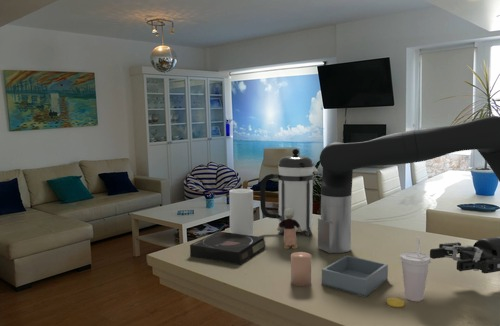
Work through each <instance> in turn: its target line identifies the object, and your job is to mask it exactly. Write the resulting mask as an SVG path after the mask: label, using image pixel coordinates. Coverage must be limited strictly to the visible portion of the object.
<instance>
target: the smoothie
mask: <svg viewBox="0 0 500 326" xmlns="http://www.w3.org/2000/svg"><path fill="white" fill-rule="evenodd" d="M416 239H417V240H416V251H406V252H402V253H401V254H400V255H399V257H400V258H399V259H400V261H401V266H402V267H401V268H402V275H403V276H402V279H403V286H404V297H405V299H406V300H408V301H411V302H422V301H423V298H424V294H425V289H426V285H427V284H426V282H427V278H428V277H427V276H428V273H429V272H428V271H429V266H430V264H431V263H432V261H431V260H432V258H430V255H427V254H426V253H423V252H420V248H421V247H420V243H421V237H419V236H417V237H416Z"/></svg>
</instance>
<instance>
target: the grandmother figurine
mask: <svg viewBox="0 0 500 326" xmlns="http://www.w3.org/2000/svg"><path fill="white" fill-rule="evenodd" d="M284 215H285V216H286V218H287V219H285V220H283V221H281V222H280V223H279V222H278V226H277V228H276V230H277V232H279V231H280V229H281V227H285V228H284V230H283V231H284V236H283V243H284V245H283V248H284V249H290V248H291V249H297V248H299V245H298V244H297V232H296V230H295V226H296V227H297V228H298V230H299V233H302V232H303V231H302V230H301V227H300V225H299V223H298V222H297V221H296V220H294V219H292V218H293V216H294V209H293V208H287V209H286V210H285V212H284Z"/></svg>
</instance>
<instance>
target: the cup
mask: <svg viewBox="0 0 500 326" xmlns="http://www.w3.org/2000/svg"><path fill="white" fill-rule="evenodd" d="M228 195H229V196H228V199H229V204H228V205H229V233H235V234H242V235H250V236H254V190H253V189H250V188H233V189H230V190H229V193H228Z"/></svg>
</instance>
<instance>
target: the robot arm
mask: <svg viewBox="0 0 500 326" xmlns="http://www.w3.org/2000/svg"><path fill="white" fill-rule="evenodd" d="M470 150H471V151H472V150H477V152H478V153H479V154H480V156H482V158H483V159H484V161H485V162H486V163H487V164H488V166H489V167H490V169H491V171H492V172H493V174H494V175H495V177H496V178H497V180H498V181H499V183H500V116H497V115H496V116H495V115H494V116H493V115H492V116H487V117H483V118H479V119H474V120H472V121H470V120H469V121H467V122H464V123H458V124H454V125H448V126H447V125H446V126H435V127H429V128H420V129H414V130H412V129H411V130H407V131H406V130H405V131H399V132H395V133H391V134H386V135H382V136H380V137H376V138H374V139H370V140H366V141H365V140H364V141H359V142H358V141H357V142H346V143H344V142H342V141H341V142H340V141H334V142H331V143H329V144H327V145H326V146H324V147H323V149H322V150H321V152H320V153H319V154H320V155H319V163H320V166H321V167H322V178H321V185H320V217H319V218H318V219H317V248H318V249H320V250H321V251H324V252H325V253H326V252H327V253H328V254H334V253H335V254H343V253H347V252H350V251H351V249H352V247H351V245H352V242H351V240H352V197H353V196H352V194H353V193H352V191H353V190H352V189H353V175H354V174H353V172H354V171H353V170H357V169H361V168H366V167H367V168H368V167H375V166H381V167H382V166H394V165H397V166H398V165H406V164H413V163H421V162H425V161H426V162H427V161H429V160H433V159H437V158H440V157H442V156H447V155H449V154H453V153H457V152H463V151H470ZM458 254H459V256H457V255H458ZM429 257H430V258H431V260H435V259H442V258H448V259H452V260H453V261H456V270H457V271H459V272H465V271H472V270H473V271H475V272H479V270H480V272H481V273H482V274H491V273H498V272H500V236H494V237H487V238H486V237H485V238H479V239H478V240H477V241H476V242H475V243H474V244H473V245H462V242H448V243H447V242H445V243H439V244H438V247H437V248H431V249H430V251H429Z"/></svg>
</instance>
